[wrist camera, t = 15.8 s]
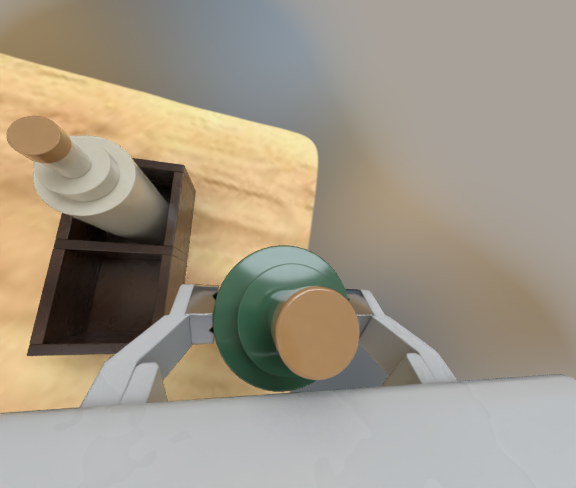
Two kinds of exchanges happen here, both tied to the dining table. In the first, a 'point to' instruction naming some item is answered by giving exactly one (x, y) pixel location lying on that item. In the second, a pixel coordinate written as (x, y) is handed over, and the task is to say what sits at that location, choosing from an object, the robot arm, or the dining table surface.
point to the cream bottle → (91, 180)
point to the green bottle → (284, 320)
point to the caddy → (113, 277)
